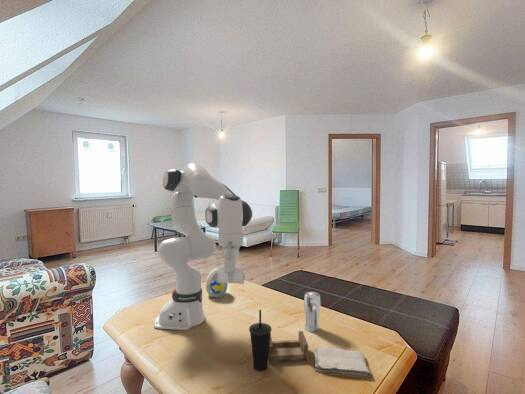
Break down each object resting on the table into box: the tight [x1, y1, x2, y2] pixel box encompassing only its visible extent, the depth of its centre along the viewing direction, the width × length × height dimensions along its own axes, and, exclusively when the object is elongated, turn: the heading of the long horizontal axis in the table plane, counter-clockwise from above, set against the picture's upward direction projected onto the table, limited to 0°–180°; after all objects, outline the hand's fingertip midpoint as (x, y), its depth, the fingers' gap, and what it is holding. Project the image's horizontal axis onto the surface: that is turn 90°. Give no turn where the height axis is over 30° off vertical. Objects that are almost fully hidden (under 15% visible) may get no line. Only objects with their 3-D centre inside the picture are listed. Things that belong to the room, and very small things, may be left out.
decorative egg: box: [205, 268, 229, 299], centre depth 157 cm, size 12×12×15 cm
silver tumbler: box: [303, 291, 321, 333], centre depth 120 cm, size 7×7×15 cm
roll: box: [218, 267, 246, 284], centre depth 100 cm, size 9×5×5 cm
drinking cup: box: [248, 309, 272, 372], centre depth 95 cm, size 8×8×20 cm
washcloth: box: [313, 346, 372, 379], centre depth 97 cm, size 12×18×3 cm, turn 82°
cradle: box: [268, 330, 309, 364], centre depth 102 cm, size 14×9×6 cm, turn 94°
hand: (231, 277), depth 100 cm, fingers closed on roll, 6 cm apart
